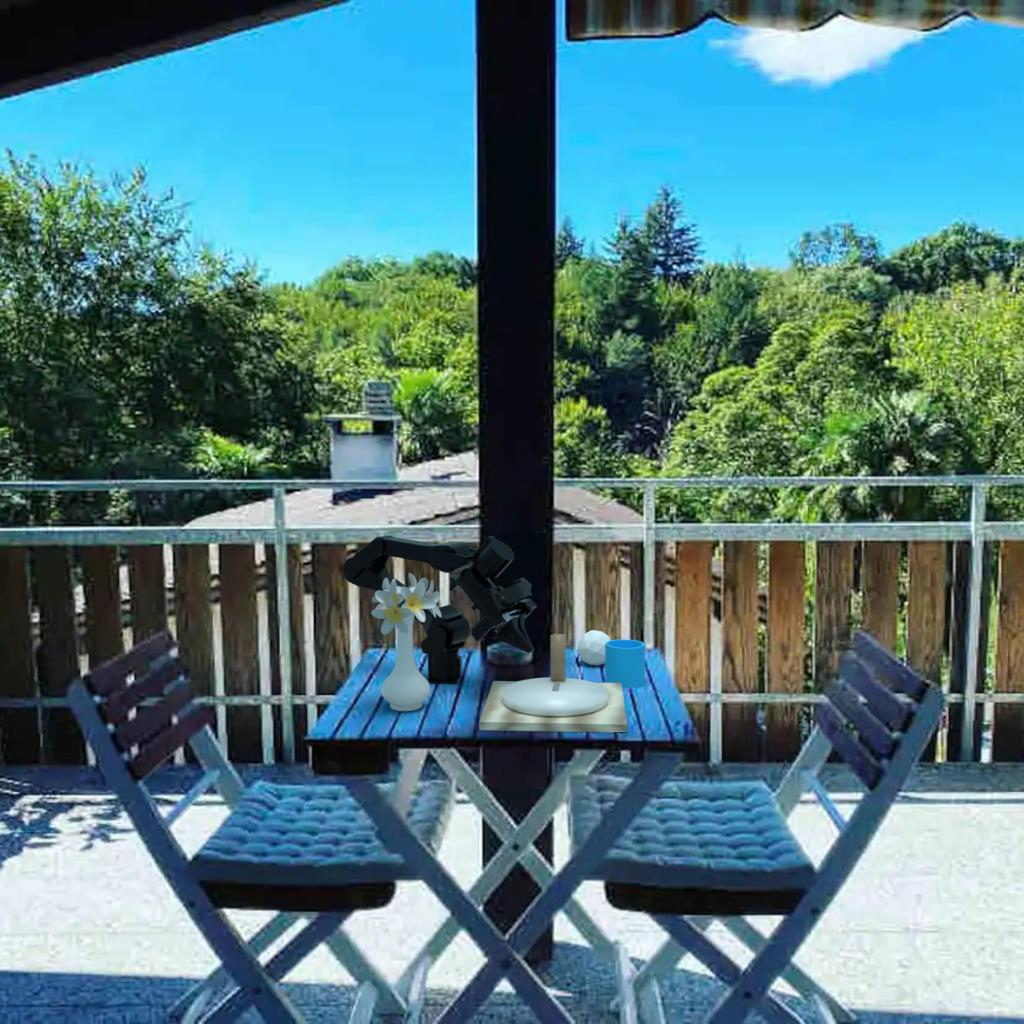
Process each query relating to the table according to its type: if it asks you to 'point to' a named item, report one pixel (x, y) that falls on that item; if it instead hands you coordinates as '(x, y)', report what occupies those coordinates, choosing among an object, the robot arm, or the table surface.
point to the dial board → (511, 720)
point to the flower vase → (405, 639)
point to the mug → (625, 662)
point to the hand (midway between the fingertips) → (531, 651)
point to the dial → (555, 690)
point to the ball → (593, 647)
